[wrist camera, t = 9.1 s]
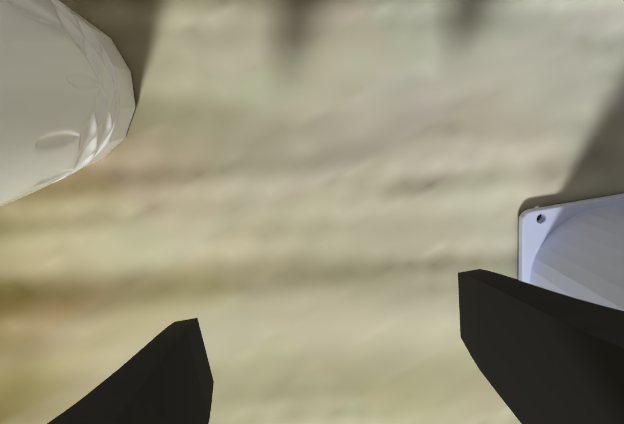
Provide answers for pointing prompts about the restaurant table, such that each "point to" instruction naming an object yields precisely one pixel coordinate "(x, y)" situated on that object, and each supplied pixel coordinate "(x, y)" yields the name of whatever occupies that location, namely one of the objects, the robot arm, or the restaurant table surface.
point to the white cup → (56, 95)
